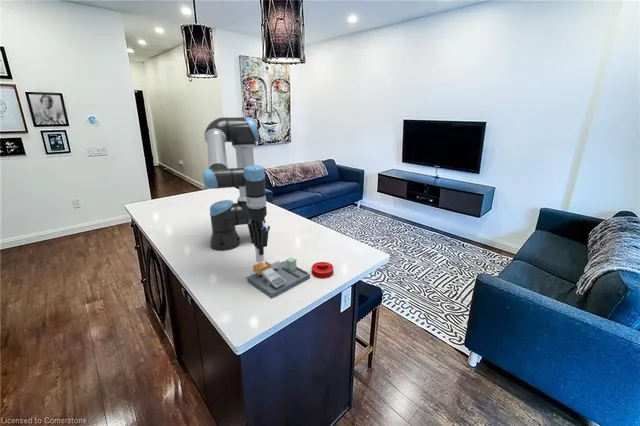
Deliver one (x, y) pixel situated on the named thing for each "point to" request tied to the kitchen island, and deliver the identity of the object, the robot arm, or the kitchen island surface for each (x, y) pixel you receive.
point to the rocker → (273, 277)
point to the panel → (289, 276)
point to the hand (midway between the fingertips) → (260, 260)
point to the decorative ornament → (322, 270)
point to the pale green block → (291, 264)
